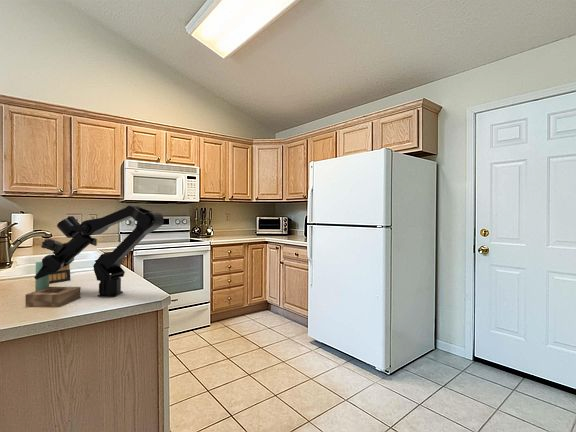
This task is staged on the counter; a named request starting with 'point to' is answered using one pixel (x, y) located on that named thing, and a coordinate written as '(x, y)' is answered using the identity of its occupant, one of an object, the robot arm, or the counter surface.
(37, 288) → the peg
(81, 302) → the counter surface
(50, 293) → the socket block
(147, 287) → the counter surface
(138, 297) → the counter surface
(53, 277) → the ammunition clip
